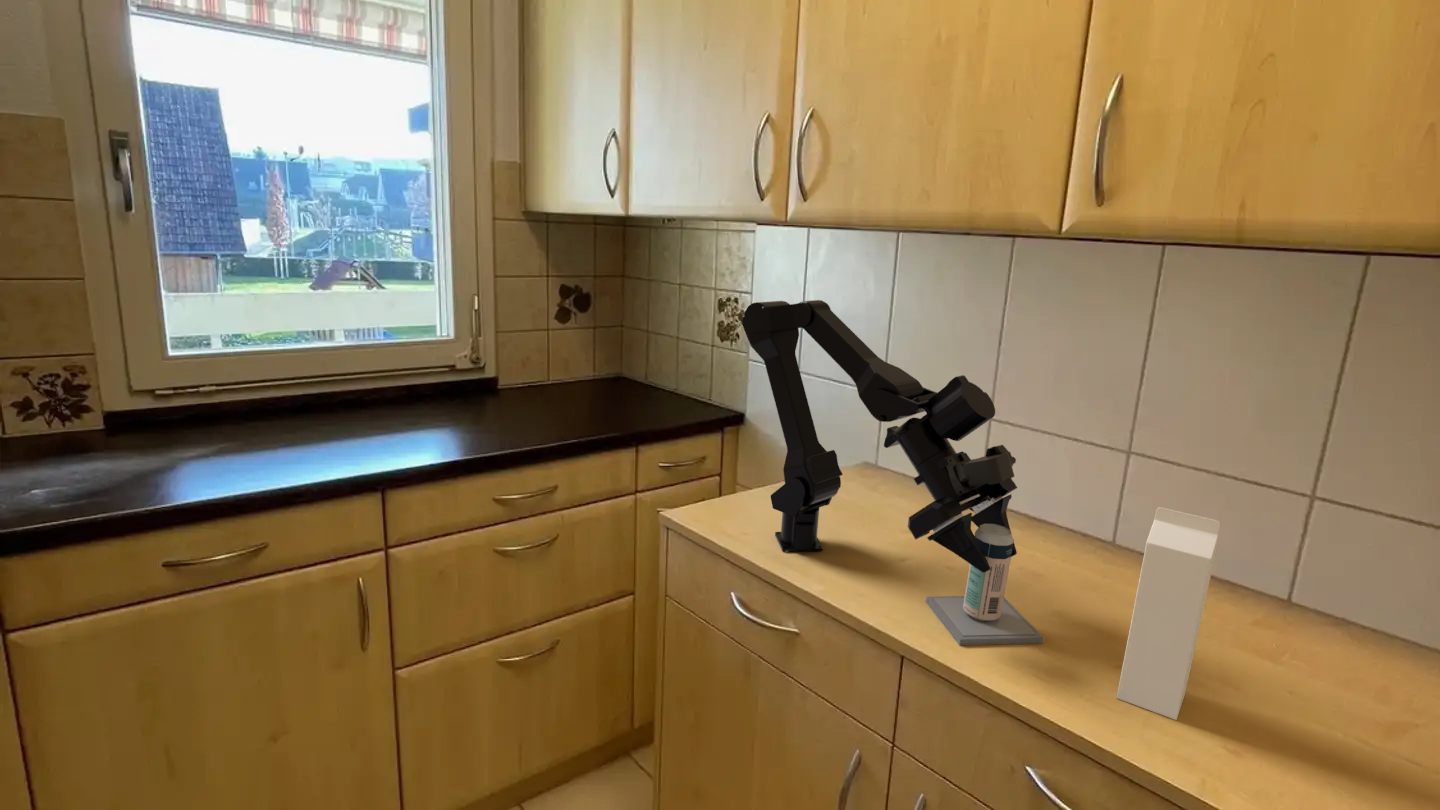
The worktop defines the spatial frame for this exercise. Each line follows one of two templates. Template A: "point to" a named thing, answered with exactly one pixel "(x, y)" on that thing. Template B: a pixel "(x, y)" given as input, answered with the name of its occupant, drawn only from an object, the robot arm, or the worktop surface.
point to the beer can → (989, 574)
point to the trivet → (983, 624)
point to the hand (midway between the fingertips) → (1000, 563)
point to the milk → (1168, 611)
